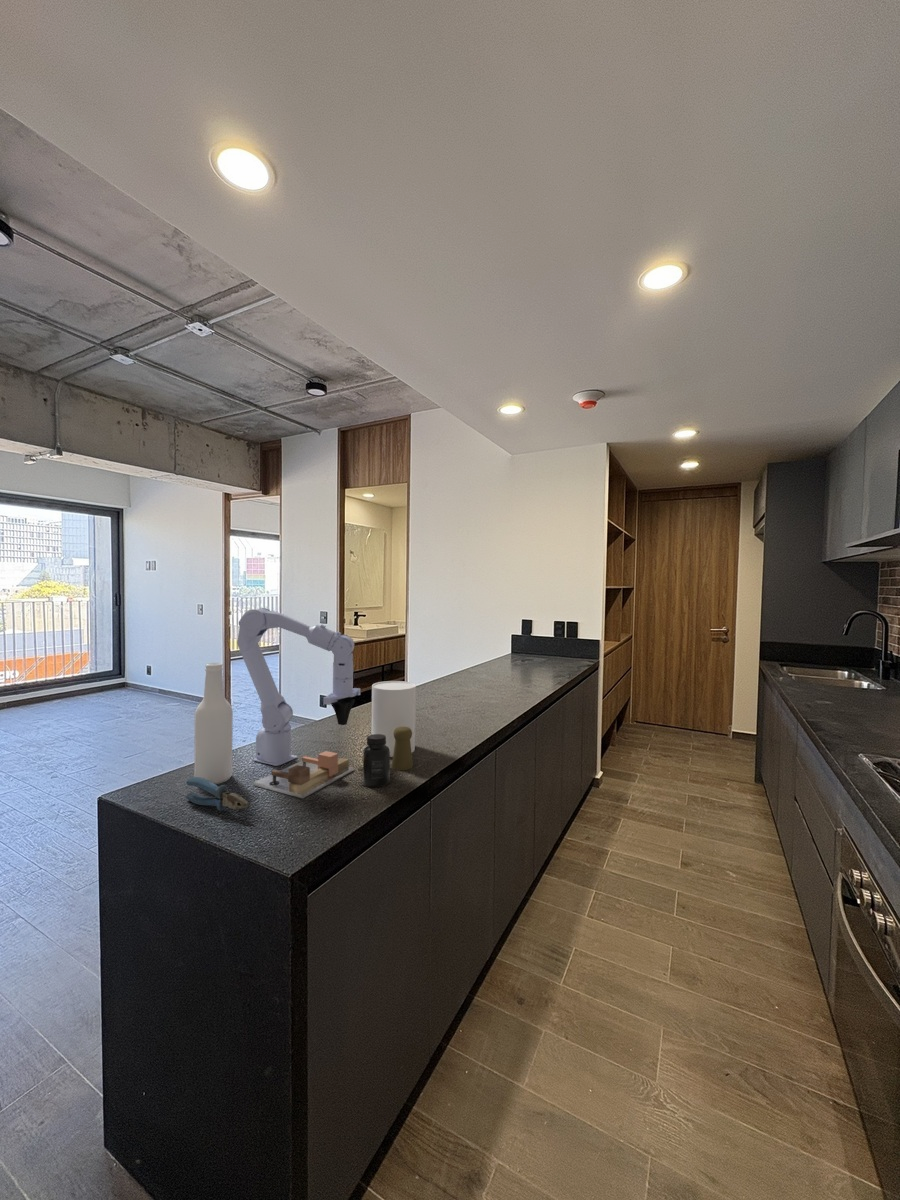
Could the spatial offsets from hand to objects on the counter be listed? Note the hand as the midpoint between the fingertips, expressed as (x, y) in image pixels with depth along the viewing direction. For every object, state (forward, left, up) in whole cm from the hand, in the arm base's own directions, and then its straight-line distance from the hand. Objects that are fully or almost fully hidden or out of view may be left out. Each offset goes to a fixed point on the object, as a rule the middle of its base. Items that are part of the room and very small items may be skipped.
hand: (342, 724), depth 141 cm
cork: (+18, +4, -11) cm, 21 cm away
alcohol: (-20, -27, -11) cm, 35 cm away
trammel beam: (+2, -15, -10) cm, 18 cm away
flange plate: (0, -15, -10) cm, 18 cm away
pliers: (-5, -38, -11) cm, 40 cm away
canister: (+8, +15, -11) cm, 20 cm away
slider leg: (+2, -12, -9) cm, 15 cm away
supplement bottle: (+18, -9, -11) cm, 23 cm away
